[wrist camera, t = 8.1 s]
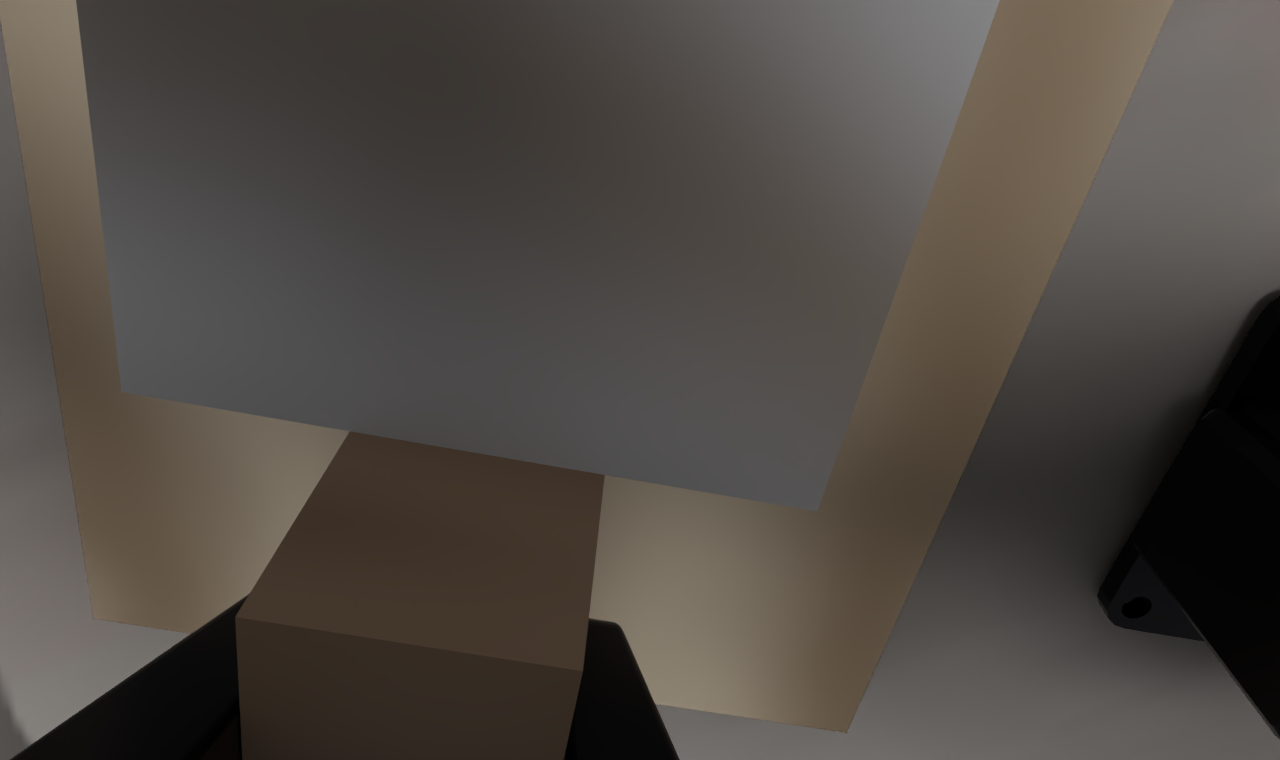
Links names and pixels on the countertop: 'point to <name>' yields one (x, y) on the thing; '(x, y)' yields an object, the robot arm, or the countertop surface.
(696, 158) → the brown and grey blocks
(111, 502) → the cutting board
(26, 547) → the countertop surface
